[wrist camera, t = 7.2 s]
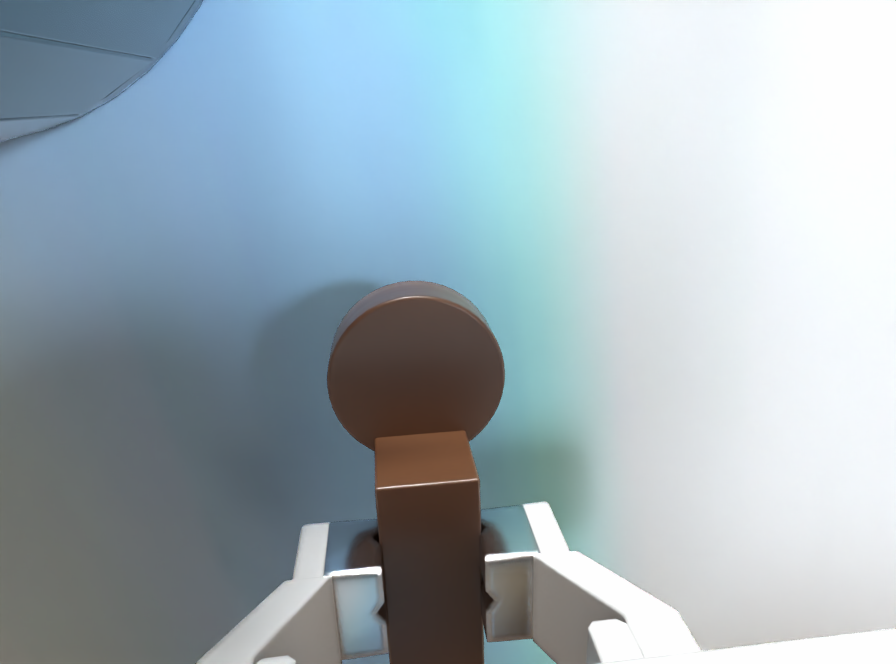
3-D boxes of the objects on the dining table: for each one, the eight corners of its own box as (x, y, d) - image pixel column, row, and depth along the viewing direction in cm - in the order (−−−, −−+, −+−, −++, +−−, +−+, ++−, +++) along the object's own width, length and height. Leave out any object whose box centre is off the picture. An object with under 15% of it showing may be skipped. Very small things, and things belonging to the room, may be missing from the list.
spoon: (498, 596, 16) (525, 703, 13) (356, 612, 15) (353, 725, 13) (493, 274, 13) (527, 320, 10) (322, 285, 13) (308, 335, 10)
